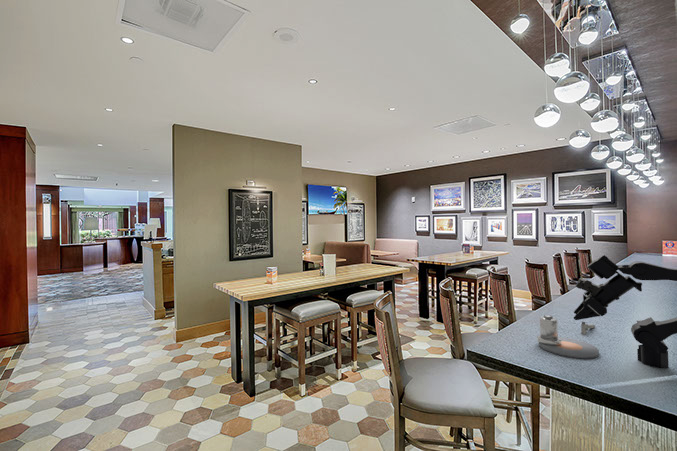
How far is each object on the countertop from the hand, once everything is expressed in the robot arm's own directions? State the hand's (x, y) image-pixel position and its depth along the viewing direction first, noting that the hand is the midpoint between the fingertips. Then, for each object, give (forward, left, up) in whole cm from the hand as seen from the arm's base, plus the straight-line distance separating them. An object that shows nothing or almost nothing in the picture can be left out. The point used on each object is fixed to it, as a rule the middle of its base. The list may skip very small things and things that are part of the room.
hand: (574, 316), depth 115 cm
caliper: (+19, -28, -14) cm, 36 cm away
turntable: (+2, +1, -13) cm, 13 cm away
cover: (+6, +5, -11) cm, 14 cm away
